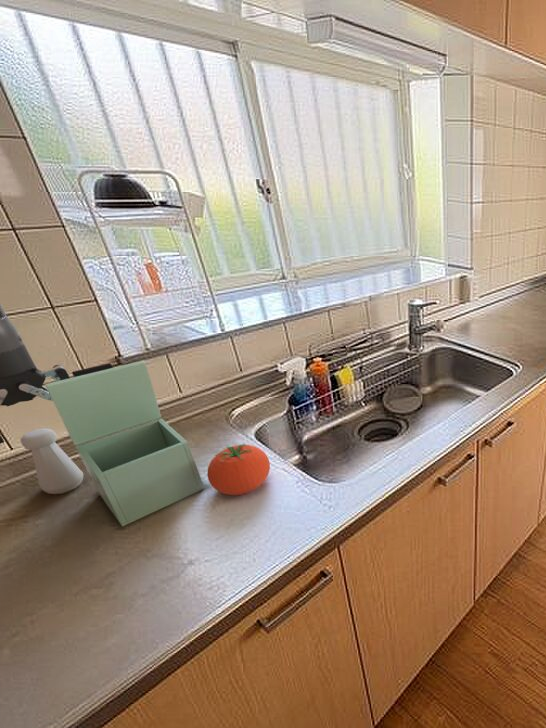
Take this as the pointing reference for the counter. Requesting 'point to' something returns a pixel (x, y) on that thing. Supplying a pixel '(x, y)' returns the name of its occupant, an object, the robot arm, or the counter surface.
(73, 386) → the green box lid
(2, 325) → the robot arm
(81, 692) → the counter surface
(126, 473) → the mint green box
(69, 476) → the salt shaker
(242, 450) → the tomato
